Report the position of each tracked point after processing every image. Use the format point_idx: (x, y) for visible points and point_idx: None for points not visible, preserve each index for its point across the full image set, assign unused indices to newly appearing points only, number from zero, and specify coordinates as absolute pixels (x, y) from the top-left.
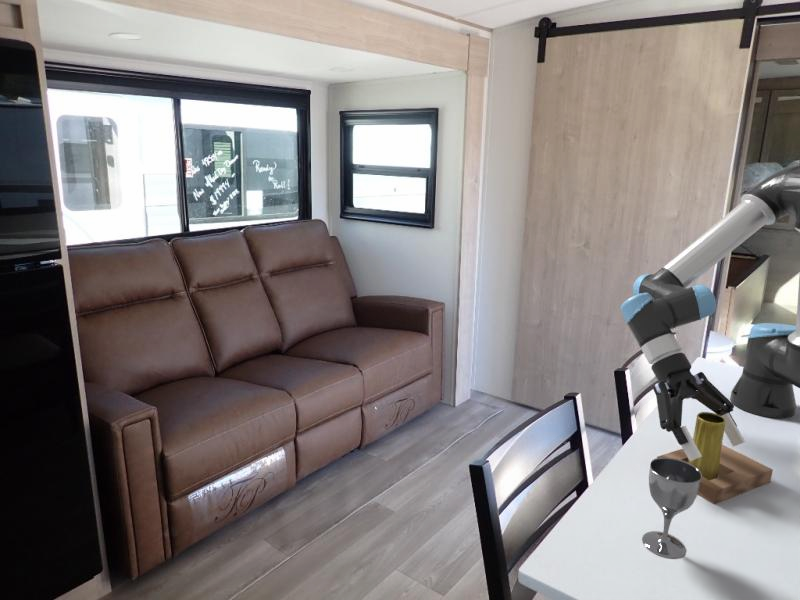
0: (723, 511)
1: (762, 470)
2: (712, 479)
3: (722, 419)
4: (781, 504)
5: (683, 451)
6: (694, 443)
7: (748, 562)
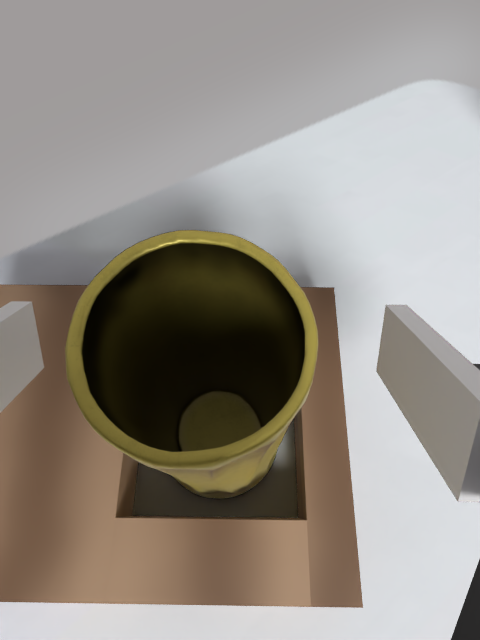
0: (326, 278)
1: (33, 297)
2: None
3: (101, 297)
4: (128, 229)
5: (178, 576)
6: (419, 334)
7: (444, 145)
